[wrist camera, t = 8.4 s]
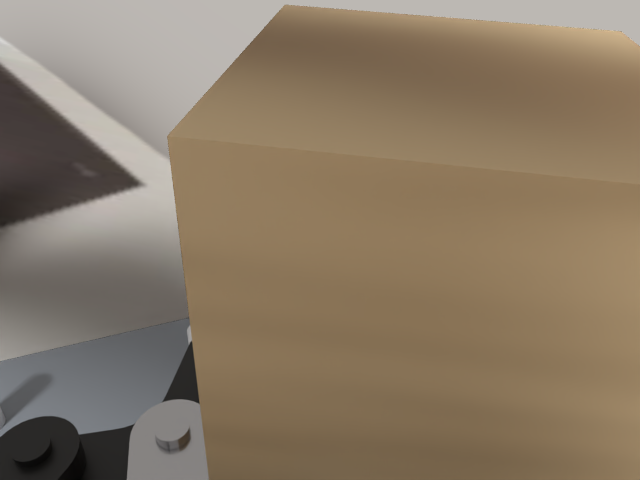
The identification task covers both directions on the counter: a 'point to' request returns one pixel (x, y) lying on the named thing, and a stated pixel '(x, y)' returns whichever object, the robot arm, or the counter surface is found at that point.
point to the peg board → (94, 379)
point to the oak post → (415, 251)
